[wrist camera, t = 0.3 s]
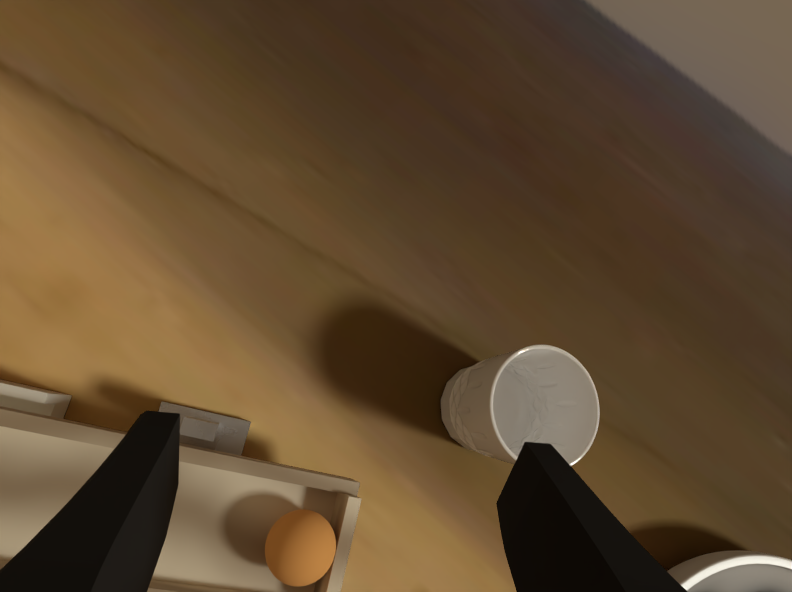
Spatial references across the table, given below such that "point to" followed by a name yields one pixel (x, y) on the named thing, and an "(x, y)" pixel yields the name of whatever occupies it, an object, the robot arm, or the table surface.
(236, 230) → the table surface
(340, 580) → the lever
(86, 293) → the table surface
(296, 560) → the ball
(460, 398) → the white cup
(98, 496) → the robot arm
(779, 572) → the bowl
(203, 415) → the lever stand
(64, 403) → the cream open box
